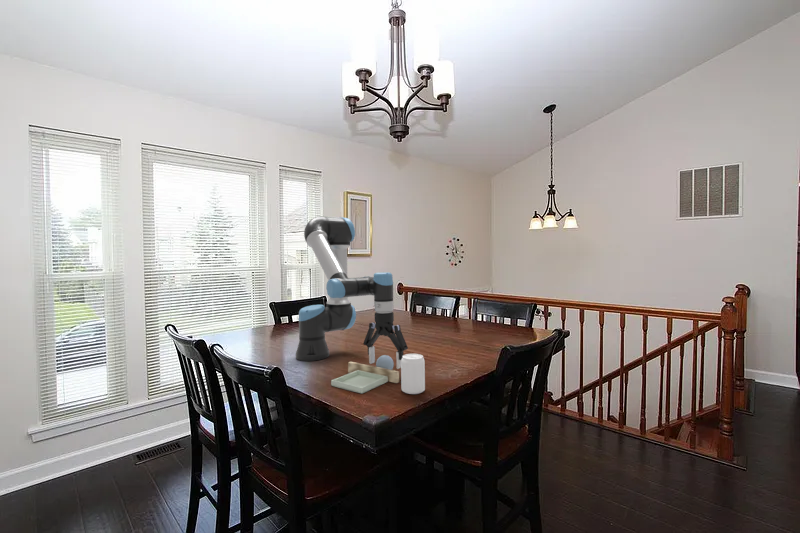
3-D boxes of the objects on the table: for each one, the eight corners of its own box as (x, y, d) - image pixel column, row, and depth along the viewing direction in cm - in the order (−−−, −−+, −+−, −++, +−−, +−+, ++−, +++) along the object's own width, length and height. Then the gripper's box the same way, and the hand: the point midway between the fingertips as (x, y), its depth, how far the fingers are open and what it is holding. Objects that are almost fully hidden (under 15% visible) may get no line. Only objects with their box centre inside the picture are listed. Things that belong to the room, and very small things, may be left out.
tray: (331, 385, 139) (331, 380, 139) (358, 375, 151) (358, 369, 151) (361, 393, 131) (361, 388, 131) (387, 381, 143) (387, 376, 142)
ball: (372, 373, 152) (372, 356, 152) (383, 369, 158) (383, 352, 158) (386, 376, 148) (386, 358, 148) (397, 372, 154) (397, 354, 154)
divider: (348, 372, 155) (348, 362, 155) (350, 371, 156) (350, 361, 156) (396, 383, 141) (396, 372, 141) (399, 382, 142) (399, 371, 142)
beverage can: (400, 387, 137) (399, 353, 136) (423, 386, 137) (422, 352, 137) (402, 395, 128) (402, 360, 128) (426, 394, 129) (426, 359, 129)
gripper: (353, 311, 156) (355, 363, 157) (404, 315, 142) (406, 372, 142) (366, 308, 162) (367, 358, 163) (415, 312, 148) (417, 367, 148)
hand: (385, 365), depth 153 cm, fingers open, 13 cm apart
